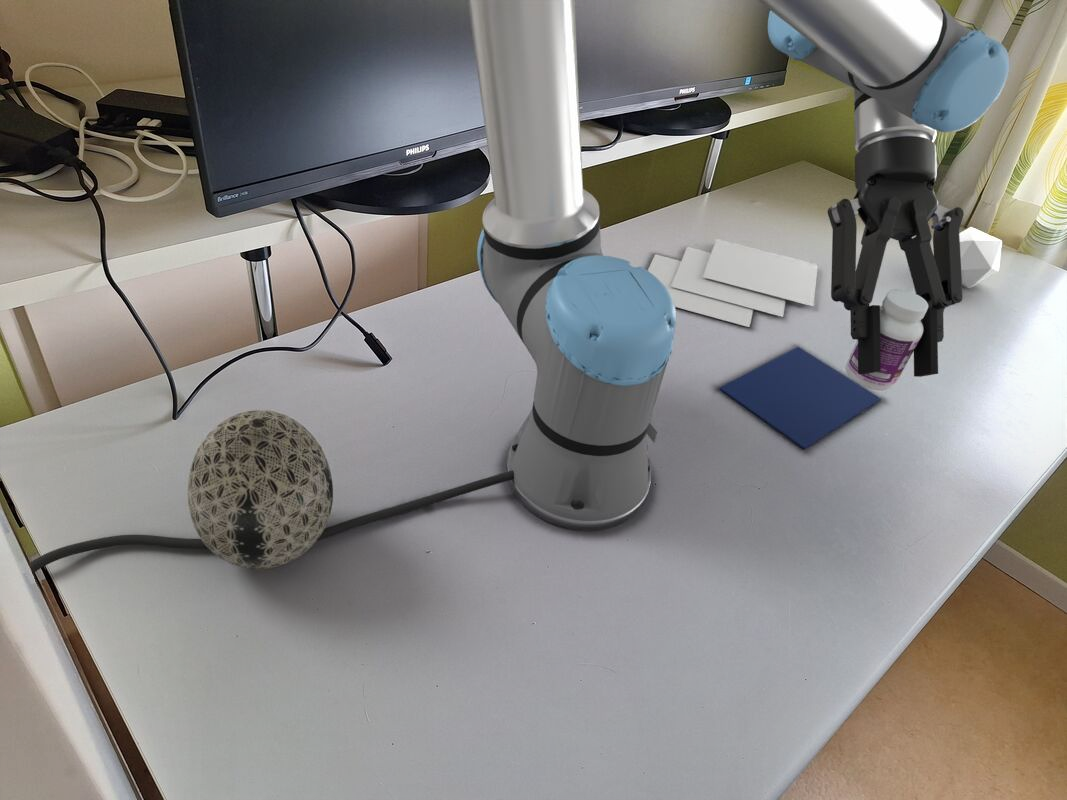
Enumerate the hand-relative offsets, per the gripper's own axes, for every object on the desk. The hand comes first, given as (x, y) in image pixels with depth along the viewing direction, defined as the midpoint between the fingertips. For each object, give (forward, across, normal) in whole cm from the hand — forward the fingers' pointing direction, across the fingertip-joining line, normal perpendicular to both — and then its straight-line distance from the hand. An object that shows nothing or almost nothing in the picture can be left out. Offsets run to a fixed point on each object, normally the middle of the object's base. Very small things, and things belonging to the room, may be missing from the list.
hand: (897, 373), depth 76 cm
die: (-22, -40, -44) cm, 64 cm away
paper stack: (-19, +1, -40) cm, 44 cm away
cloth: (0, 0, -21) cm, 21 cm away
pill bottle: (0, 0, -5) cm, 5 cm away
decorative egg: (+18, +60, -4) cm, 63 cm away
